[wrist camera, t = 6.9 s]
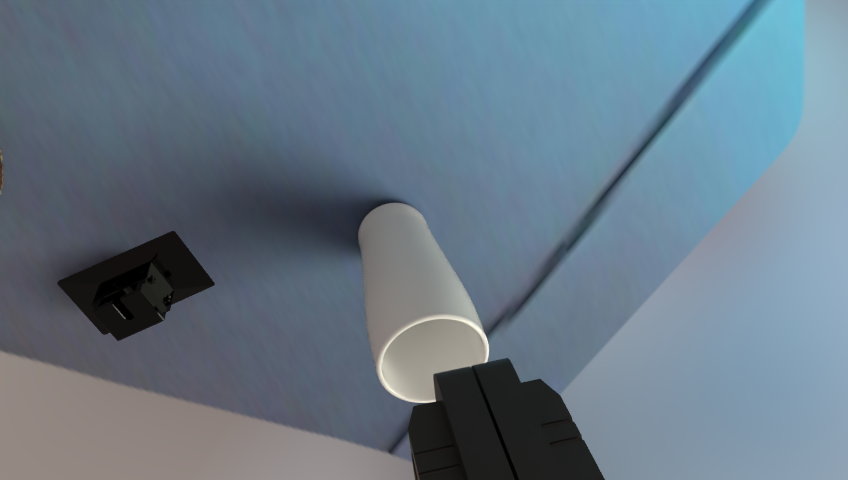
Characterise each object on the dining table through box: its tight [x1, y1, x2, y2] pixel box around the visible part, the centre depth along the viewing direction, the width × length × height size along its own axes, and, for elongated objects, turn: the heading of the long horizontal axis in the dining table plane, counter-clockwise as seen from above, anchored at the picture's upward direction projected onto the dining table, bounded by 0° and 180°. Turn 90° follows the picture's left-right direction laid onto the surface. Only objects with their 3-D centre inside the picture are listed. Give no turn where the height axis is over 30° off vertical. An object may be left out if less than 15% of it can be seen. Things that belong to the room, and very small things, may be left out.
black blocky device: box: [58, 231, 215, 341], centre depth 46 cm, size 12×7×5 cm, turn 111°
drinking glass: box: [358, 203, 489, 403], centre depth 43 cm, size 7×7×15 cm
